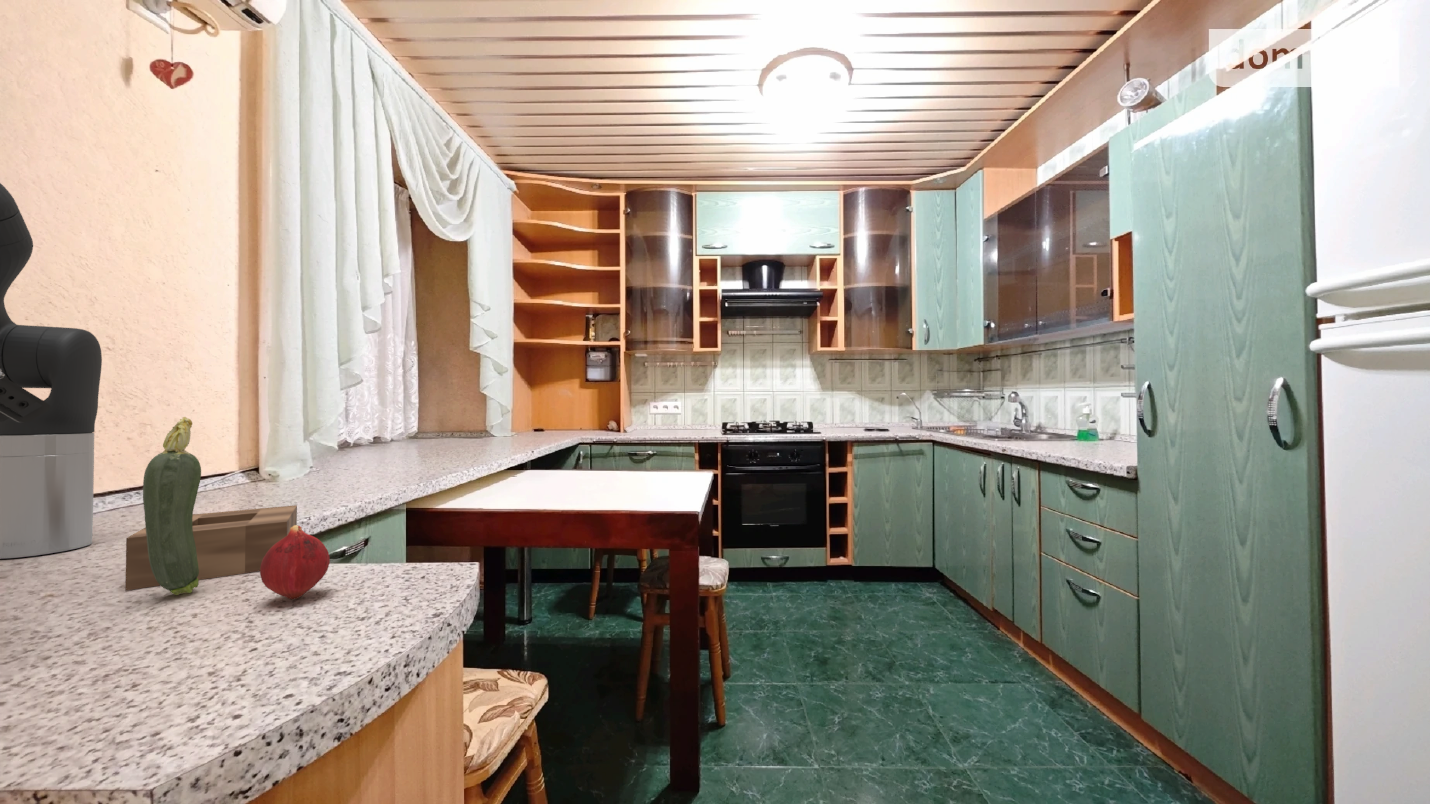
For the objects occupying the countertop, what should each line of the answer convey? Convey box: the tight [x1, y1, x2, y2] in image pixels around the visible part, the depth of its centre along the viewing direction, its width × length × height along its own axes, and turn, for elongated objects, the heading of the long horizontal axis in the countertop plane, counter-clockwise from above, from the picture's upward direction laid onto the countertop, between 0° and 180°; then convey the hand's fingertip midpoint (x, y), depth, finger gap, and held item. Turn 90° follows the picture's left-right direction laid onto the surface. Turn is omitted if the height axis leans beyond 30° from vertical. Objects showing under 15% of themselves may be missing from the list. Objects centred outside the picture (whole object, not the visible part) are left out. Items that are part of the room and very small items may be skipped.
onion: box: [259, 524, 331, 600], centre depth 54 cm, size 6×6×8 cm
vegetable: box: [142, 416, 202, 596], centre depth 55 cm, size 4×4×20 cm
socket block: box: [124, 504, 298, 591], centre depth 66 cm, size 14×14×6 cm
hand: (24, 415), depth 46 cm, fingers open, 8 cm apart
